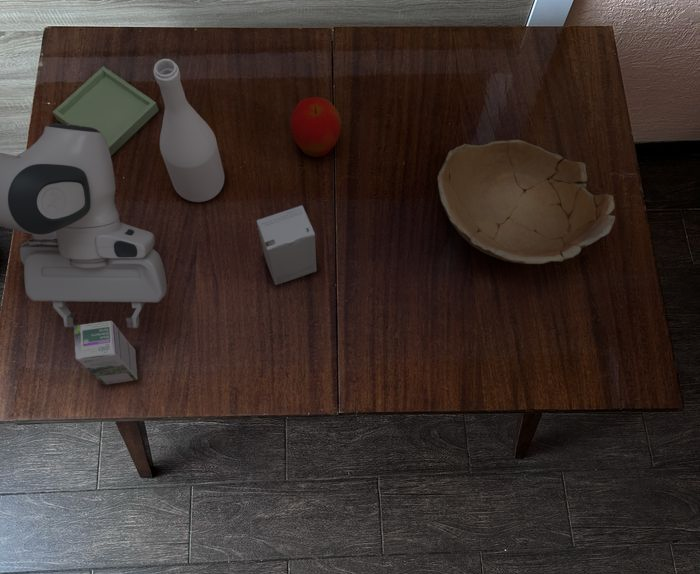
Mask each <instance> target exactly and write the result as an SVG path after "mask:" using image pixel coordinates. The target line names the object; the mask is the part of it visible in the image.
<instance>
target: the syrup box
mask: <svg viewBox="0 0 700 574" xmlns="http://www.w3.org/2000/svg"><path fill="white" fill-rule="evenodd" d="M73 331H74V332H73V333H74V334H73V335H74V353H75V360H76V361H77V362H78V363H79V364H80V365H81V366H83V367H84V368H85V369H86V370H87V371H88V372H89V373H90V374H91V375H93V376H94V377H95V378H96V379H97V380H98V381H99V382H100V383H101V384H102V385H104V386H107V385H114V384H121V383H128V382H135V381H138V369H137V354H136V349H135V348H134V346H132V345H131V343H130V342H129V340H128V339H127V338H126V336H124V334H123V332H122V331H121V330H120V329H119V327H117V325H116V324H115V322H113V321H112V320H105V321H98V322H90V323H82V324H77V325H74V327H73Z"/></svg>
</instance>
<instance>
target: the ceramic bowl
mask: <svg viewBox="0 0 700 574" xmlns="http://www.w3.org/2000/svg"><path fill="white" fill-rule="evenodd" d="M436 179H437V186H438V192H439V193H438V194H439V199H440V201H441V205H442V207H443V209H444V212H445V214H446V216H447V217H448V219H449V222H450V224H451V225H452V226H453V227H454V229H455V230H456V231H457V233H458V234H459V235H460V236H461V237H462V238H463V239H464V240H465V241H466V242H467V243H468V244H470V246H472V247H473V248H475V249H477V250H478V251H480V252H481V253H483V254H486V255H488V256H490V257H493V258H496V259H499V260H502V261H504V262H510V263H512V264H514V263H515V264H522V265H525V264H526V265H544V264H549V263H552V262H564V261H565V260H568V259H572V258H574V257H576V256H578V255H579V254H580V253H581V252H582V249H583V248H586V247H588V246H590V245H592V244H594V243H596V242H597V241H598V240H600V239H601V238H605V237H607V236H608V235H609V234H610V232H611V231H612V229H613V226H614V223H615V222H616V216H615V215H611V214H612V212H613V211H614V210H615V209H616V204H615V199H614V195H611V194H608V193H601V194H596V195H594V194H593V193H591V192H589V191H588V190H587V183H586V182H588V175H587V164H586V163H584V162H583V161H574V160H569V159H567V158H564V156H562V155H560V154H557V153H553V152H551V151H548V150H546V149H544V148H543V147H541V146H539V145H535V144H531V143H529V142H526V141H524V140H522V139H509V140H496V141H495V140H494V141H490V142H488V143H486V144H483V145H479V144H467V143H463V144H461V145H460V146H456V147H455V148H454V149H451V150H449V151H448V153H447V155H446V158H445V160H444V162H443V164H442V166H441V167H440V170H439V172H438V175H437V177H436Z"/></svg>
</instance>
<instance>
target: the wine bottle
mask: <svg viewBox="0 0 700 574" xmlns="http://www.w3.org/2000/svg"><path fill="white" fill-rule="evenodd" d="M152 72H153V76H154V79H155V81H156V83H157V85H158V87H159V90H160V93H161V97H162V101H163V105H164V111H163V112H164V113H163V118H162V123H161V124H162V125H161V130H160V134H159V150H160V154H161V157H162V159H163V162H164V165H165V168H166V170H167V173H168V176H169V177H170V181H171V184H172V187H173V189H174V191H175V192H176V193H177V195H179V196H180V197H181V198H183V200H186V201H189V202H193V203H204V202H207V201H210V200H212V199H214V198H215V197H216V196H218V195H219V193H220V192H221V191H222V189H223V187H224V185H225V171H224V167H223V163H222V158H221V154H220V151H219V150H220V149H219V146H218V142H217V138H216V135H215V132H214V131H213V129H212V128H211V127H210V126H209V124H208V123H207V122H206V120H204V119H203V118H202V117H201V116H200V114H199V113H198V111H196V109H194V108H193V106H191V104H190V103H189V101H188V100H187V98H186V95H185V94H186V93H185V90H184V88H183V85H182V81H181V72H180V69H179V66H178V64H177V63H176V62H175V61H174V60H172V59H169V58H162V59H159V60H158V61H156V63H154V67H153V71H152Z"/></svg>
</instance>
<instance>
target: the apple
mask: <svg viewBox="0 0 700 574" xmlns="http://www.w3.org/2000/svg"><path fill="white" fill-rule="evenodd" d="M341 125H342V120H341V116H340V113H339V111H338V109H336V107H335V105H333V103H332V102H331V101H330V100H328V99H327V98H324V97H319V96H310V97H306V98H304V99H302V100H300V101H298V103H297V104H296V106H295V108H294V110H293V111H292V113H291V117H290V128H291V133H292V137H293V140H294V142H295V143H296V144H297V146H298V147H299V148H300V150H301V152H303V153H304V154H306V155H307V156H309V157H313V158H320V157H324V156H326V155H327V154H329V153H330V152H331V150H332V149H333V148H334V147H335V146H336V144H337V142H338V139H339V135H340V131H341Z"/></svg>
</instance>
